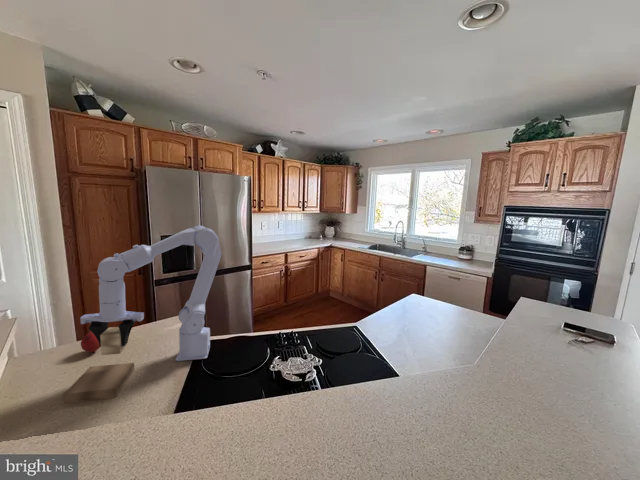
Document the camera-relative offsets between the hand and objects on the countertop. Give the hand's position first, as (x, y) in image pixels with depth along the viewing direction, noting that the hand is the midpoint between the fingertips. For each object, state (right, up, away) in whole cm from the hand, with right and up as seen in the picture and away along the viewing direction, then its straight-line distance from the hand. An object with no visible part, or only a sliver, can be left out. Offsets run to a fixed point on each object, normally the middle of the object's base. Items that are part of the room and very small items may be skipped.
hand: (114, 344), depth 73 cm
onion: (-16, -7, +11) cm, 21 cm away
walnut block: (-1, -10, -3) cm, 11 cm away
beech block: (0, -2, 0) cm, 2 cm away
